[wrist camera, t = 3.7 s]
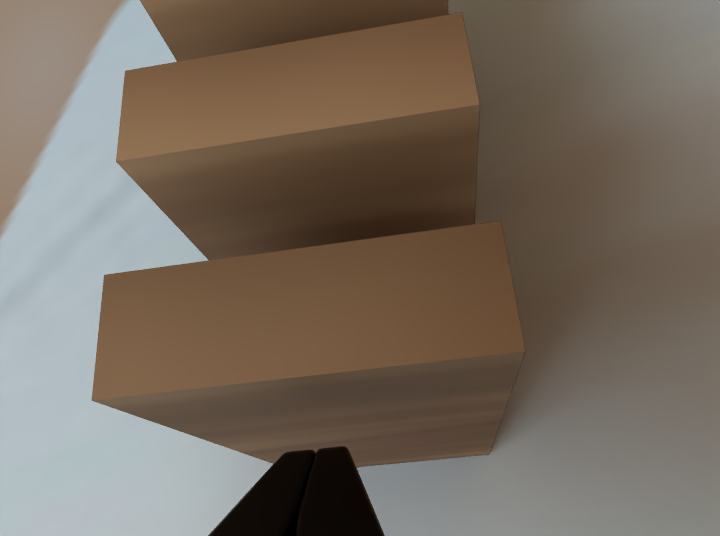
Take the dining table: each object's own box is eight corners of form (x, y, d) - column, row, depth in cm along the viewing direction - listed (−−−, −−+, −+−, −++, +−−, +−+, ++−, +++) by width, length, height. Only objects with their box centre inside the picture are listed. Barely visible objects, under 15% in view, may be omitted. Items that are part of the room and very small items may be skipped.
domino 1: (453, 226, 18) (445, -71, 9) (291, 248, 19) (132, -12, 10) (447, 180, 19) (433, -140, 10) (289, 202, 20) (139, -80, 10)
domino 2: (470, 331, 17) (479, 104, 8) (294, 352, 18) (115, 161, 9) (462, 278, 18) (462, 12, 9) (293, 300, 18) (125, 71, 9)
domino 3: (489, 454, 16) (525, 351, 7) (299, 472, 16) (91, 400, 7) (479, 392, 16) (501, 220, 7) (297, 411, 17) (104, 275, 8)
